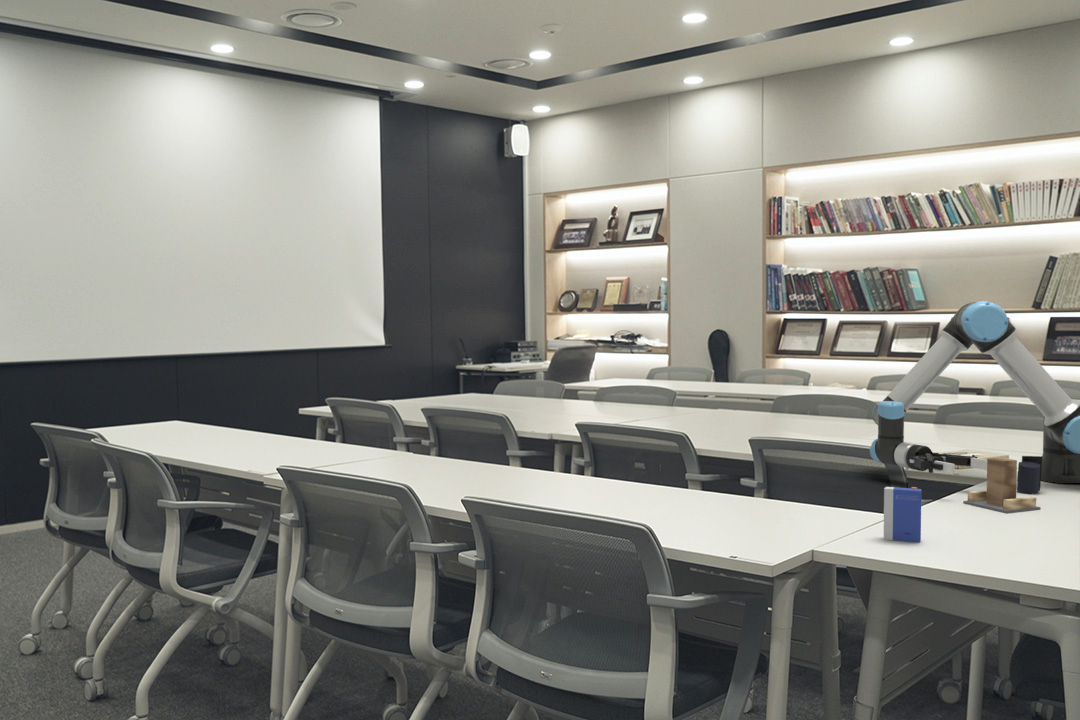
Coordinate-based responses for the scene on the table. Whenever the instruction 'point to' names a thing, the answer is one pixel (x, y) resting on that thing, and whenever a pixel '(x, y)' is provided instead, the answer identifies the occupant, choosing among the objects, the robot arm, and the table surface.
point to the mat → (998, 507)
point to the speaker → (1029, 474)
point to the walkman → (902, 514)
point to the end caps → (1007, 503)
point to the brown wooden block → (1001, 480)
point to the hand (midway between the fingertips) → (972, 467)
